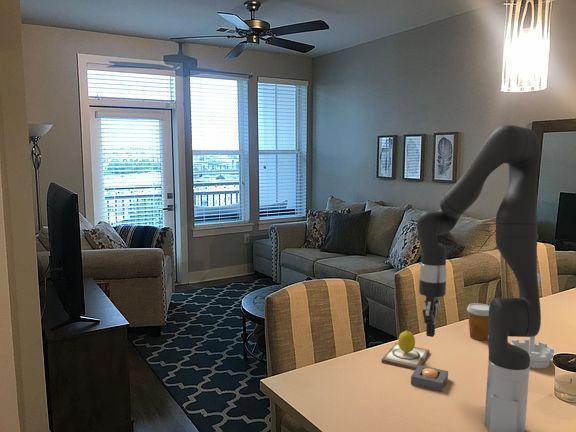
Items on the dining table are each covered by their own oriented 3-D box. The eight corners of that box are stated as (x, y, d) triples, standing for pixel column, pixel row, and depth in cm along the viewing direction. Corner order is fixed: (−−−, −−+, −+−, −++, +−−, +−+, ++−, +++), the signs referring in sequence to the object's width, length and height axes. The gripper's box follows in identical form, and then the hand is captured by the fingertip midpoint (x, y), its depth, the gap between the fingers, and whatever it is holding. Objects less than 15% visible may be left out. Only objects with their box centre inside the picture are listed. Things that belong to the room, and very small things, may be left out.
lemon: (396, 354, 158) (396, 331, 158) (400, 348, 163) (401, 326, 162) (412, 357, 156) (413, 334, 155) (416, 352, 161) (417, 329, 160)
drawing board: (417, 370, 150) (418, 366, 150) (381, 362, 156) (381, 358, 155) (429, 352, 164) (429, 349, 163) (395, 345, 169) (395, 342, 169)
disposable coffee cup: (498, 340, 175) (500, 309, 174) (478, 343, 172) (480, 311, 171) (479, 331, 184) (480, 301, 183) (459, 334, 181) (461, 304, 179)
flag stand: (514, 350, 166) (520, 267, 163) (556, 360, 158) (563, 273, 155) (504, 362, 156) (509, 273, 153) (548, 373, 148) (555, 280, 145)
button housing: (441, 391, 136) (442, 383, 136) (410, 384, 140) (411, 376, 140) (447, 378, 144) (448, 371, 144) (418, 372, 148) (418, 364, 148)
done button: (435, 384, 139) (435, 376, 139) (420, 380, 141) (420, 372, 141) (438, 378, 143) (439, 370, 143) (424, 374, 145) (424, 367, 145)
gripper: (441, 284, 131) (439, 345, 132) (449, 275, 142) (447, 331, 144) (414, 281, 134) (412, 340, 136) (424, 273, 146) (422, 327, 148)
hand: (430, 335), depth 140 cm, fingers closed
